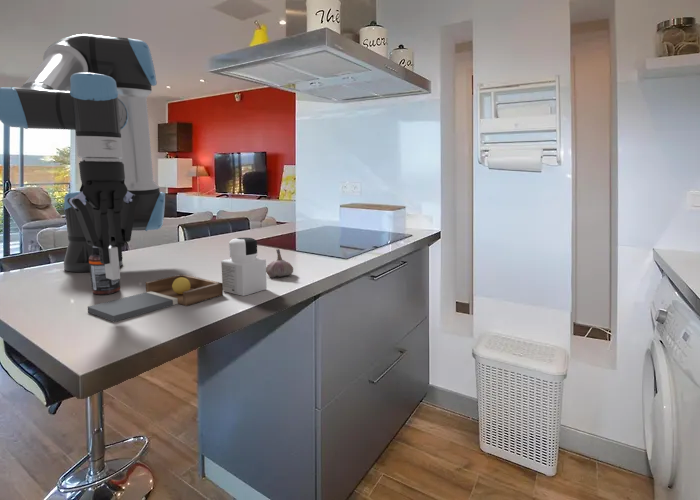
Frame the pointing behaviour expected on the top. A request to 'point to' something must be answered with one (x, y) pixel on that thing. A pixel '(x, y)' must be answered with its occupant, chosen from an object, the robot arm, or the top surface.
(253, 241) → the container
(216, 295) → the tray
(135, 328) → the top surface
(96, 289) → the supplement bottle
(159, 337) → the top surface
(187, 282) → the ball
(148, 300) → the grey flat slab
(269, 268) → the garlic bulb
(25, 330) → the top surface
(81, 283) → the top surface
